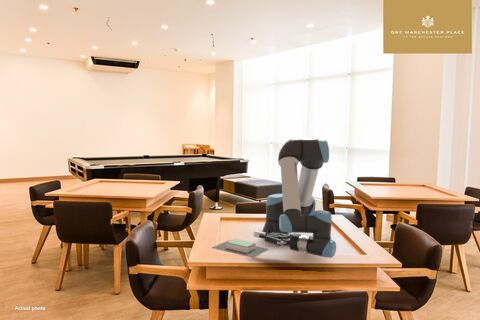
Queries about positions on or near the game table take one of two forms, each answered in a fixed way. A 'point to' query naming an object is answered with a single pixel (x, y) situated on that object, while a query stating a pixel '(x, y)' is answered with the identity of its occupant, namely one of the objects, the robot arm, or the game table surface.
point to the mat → (249, 254)
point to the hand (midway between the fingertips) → (254, 233)
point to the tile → (241, 245)
